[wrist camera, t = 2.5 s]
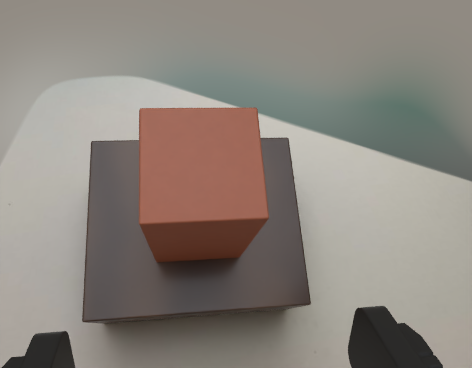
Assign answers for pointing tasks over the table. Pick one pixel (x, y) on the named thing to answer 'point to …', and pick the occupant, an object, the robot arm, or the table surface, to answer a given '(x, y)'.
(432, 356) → the robot arm
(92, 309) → the storage box
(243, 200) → the small box
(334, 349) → the table surface
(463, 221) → the table surface
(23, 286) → the table surface
